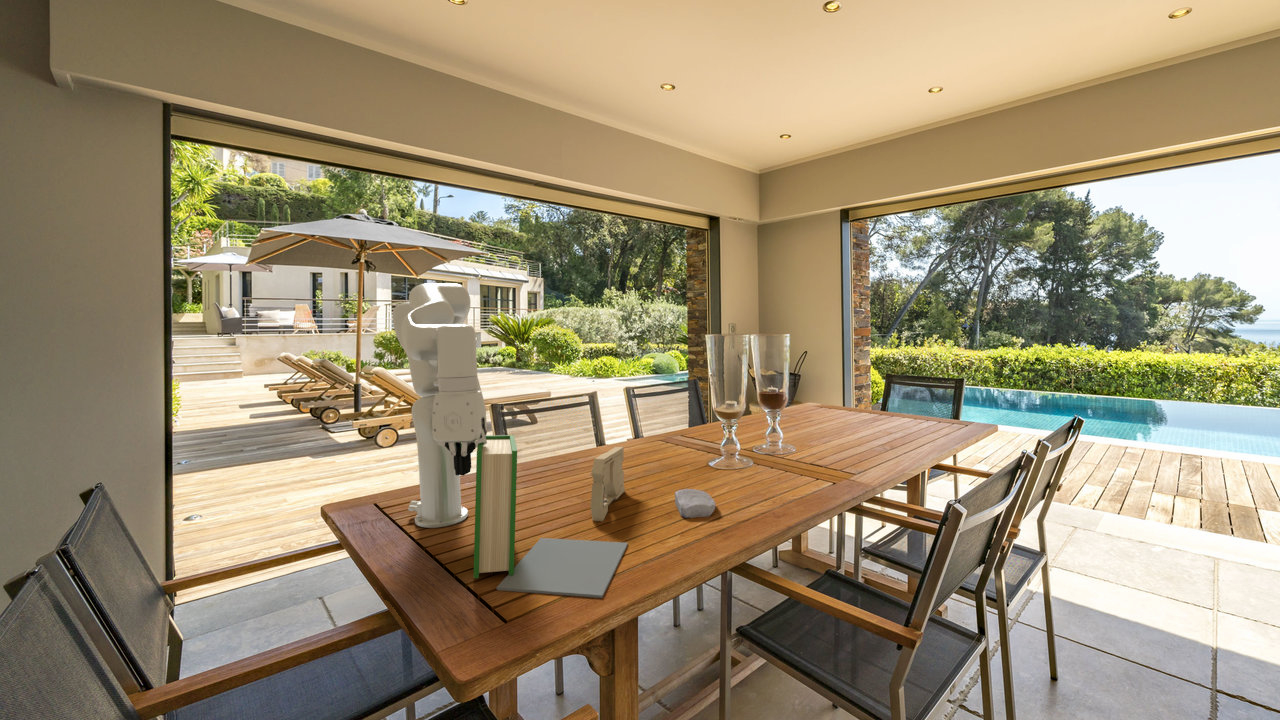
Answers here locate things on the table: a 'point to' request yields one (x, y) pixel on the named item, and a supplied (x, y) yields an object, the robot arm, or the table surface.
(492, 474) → the hardback book
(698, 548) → the table surface
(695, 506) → the stone block
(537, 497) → the table surface
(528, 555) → the mat
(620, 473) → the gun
